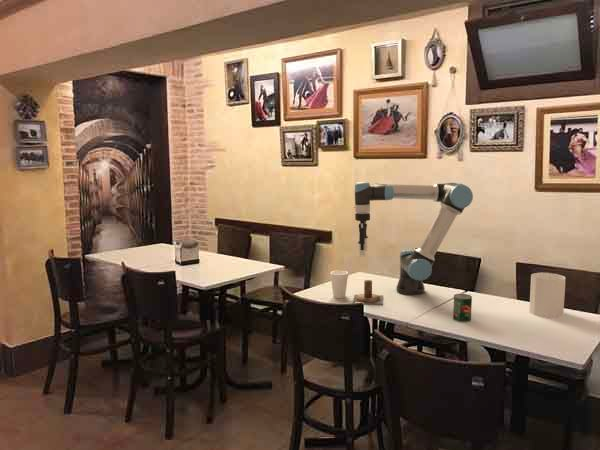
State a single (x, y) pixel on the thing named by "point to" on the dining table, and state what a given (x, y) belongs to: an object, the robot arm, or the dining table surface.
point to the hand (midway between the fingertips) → (363, 253)
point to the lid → (368, 293)
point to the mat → (370, 302)
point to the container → (547, 295)
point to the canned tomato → (462, 307)
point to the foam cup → (339, 283)
